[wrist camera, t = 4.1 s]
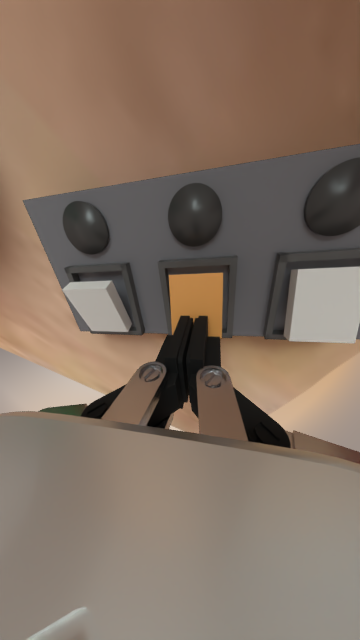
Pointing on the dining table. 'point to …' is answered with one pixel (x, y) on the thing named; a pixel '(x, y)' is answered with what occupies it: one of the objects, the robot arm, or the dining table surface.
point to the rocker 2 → (323, 305)
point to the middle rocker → (197, 299)
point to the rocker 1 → (99, 305)
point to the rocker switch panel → (209, 236)
